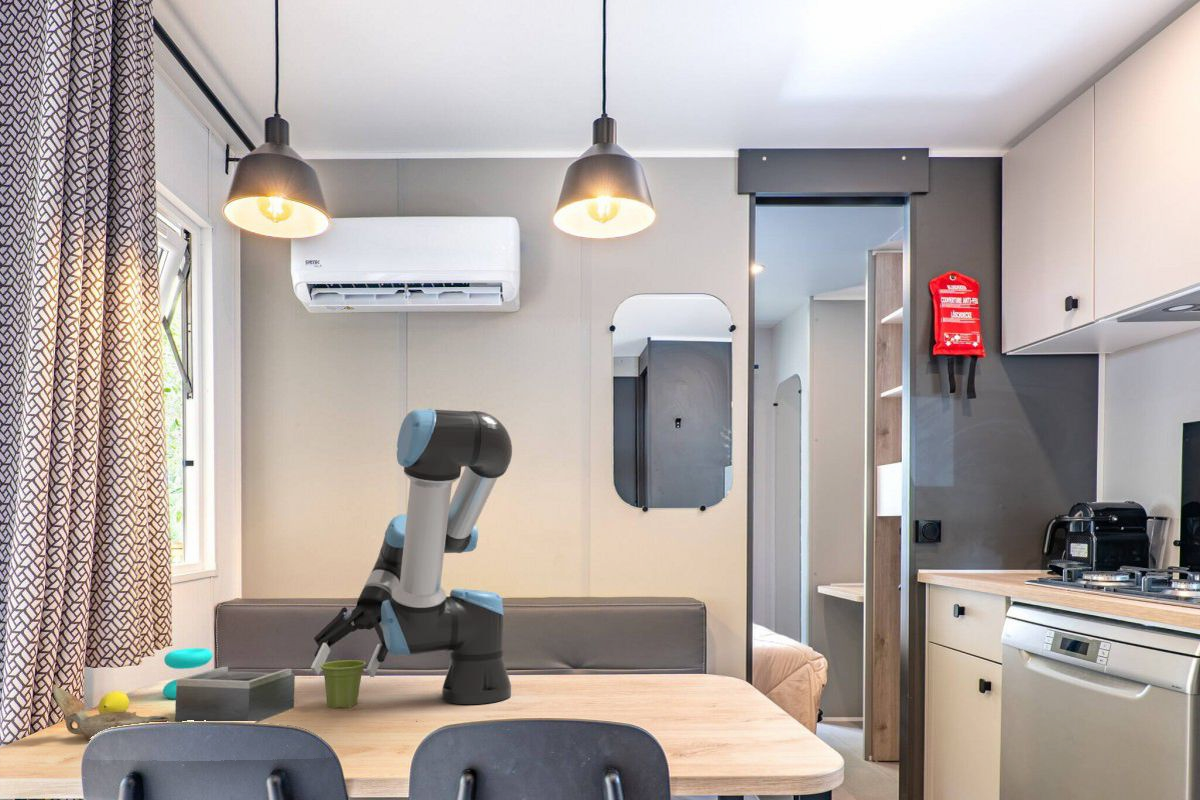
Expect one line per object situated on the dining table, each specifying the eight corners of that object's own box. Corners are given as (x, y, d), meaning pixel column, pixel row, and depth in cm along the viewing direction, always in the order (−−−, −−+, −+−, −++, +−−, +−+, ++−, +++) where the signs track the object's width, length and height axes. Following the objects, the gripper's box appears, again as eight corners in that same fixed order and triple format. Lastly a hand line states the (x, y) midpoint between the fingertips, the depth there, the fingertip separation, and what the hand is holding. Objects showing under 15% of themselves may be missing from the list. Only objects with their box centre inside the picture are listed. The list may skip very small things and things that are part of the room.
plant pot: (346, 698, 184) (347, 658, 186) (374, 703, 179) (374, 662, 180) (310, 707, 177) (311, 665, 178) (338, 712, 171) (338, 669, 173)
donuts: (157, 651, 192) (201, 645, 199) (155, 696, 190) (199, 688, 198) (175, 656, 185) (219, 649, 193) (173, 702, 184) (218, 694, 191)
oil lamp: (62, 733, 160) (65, 679, 161) (178, 728, 162) (180, 675, 163) (36, 746, 151) (40, 689, 152) (158, 740, 153) (161, 685, 155)
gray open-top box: (293, 707, 177) (294, 667, 178) (248, 725, 162) (249, 682, 163) (213, 703, 182) (215, 665, 183) (162, 721, 167) (164, 679, 168)
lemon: (108, 717, 174) (111, 690, 175) (134, 716, 174) (137, 689, 175) (89, 721, 167) (92, 692, 168) (116, 720, 167) (119, 692, 168)
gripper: (431, 604, 195) (399, 684, 179) (337, 603, 201) (298, 680, 185) (421, 584, 191) (387, 664, 174) (325, 583, 197) (284, 660, 181)
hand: (342, 672), depth 180 cm, fingers open, 13 cm apart
